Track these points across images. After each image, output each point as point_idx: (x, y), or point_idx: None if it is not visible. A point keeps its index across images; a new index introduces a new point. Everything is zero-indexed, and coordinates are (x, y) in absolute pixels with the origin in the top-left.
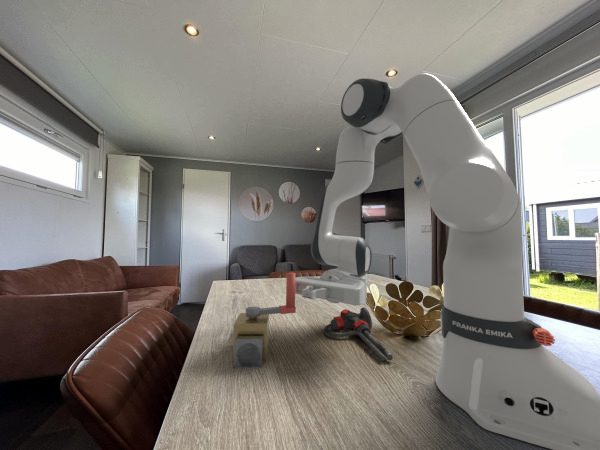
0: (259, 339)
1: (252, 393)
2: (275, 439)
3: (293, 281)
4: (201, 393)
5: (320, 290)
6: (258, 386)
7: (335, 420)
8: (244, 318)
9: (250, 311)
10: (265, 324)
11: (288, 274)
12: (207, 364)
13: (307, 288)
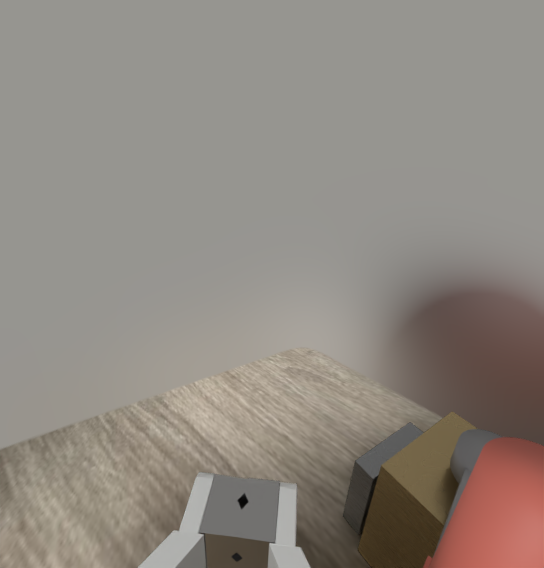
0: (362, 457)
1: (284, 431)
2: (196, 386)
3: (457, 518)
4: (354, 396)
5: (146, 564)
6: (289, 450)
7: (110, 446)
8: None
9: (465, 432)
10: (384, 465)
11: (506, 441)
12: None
13: (284, 546)
